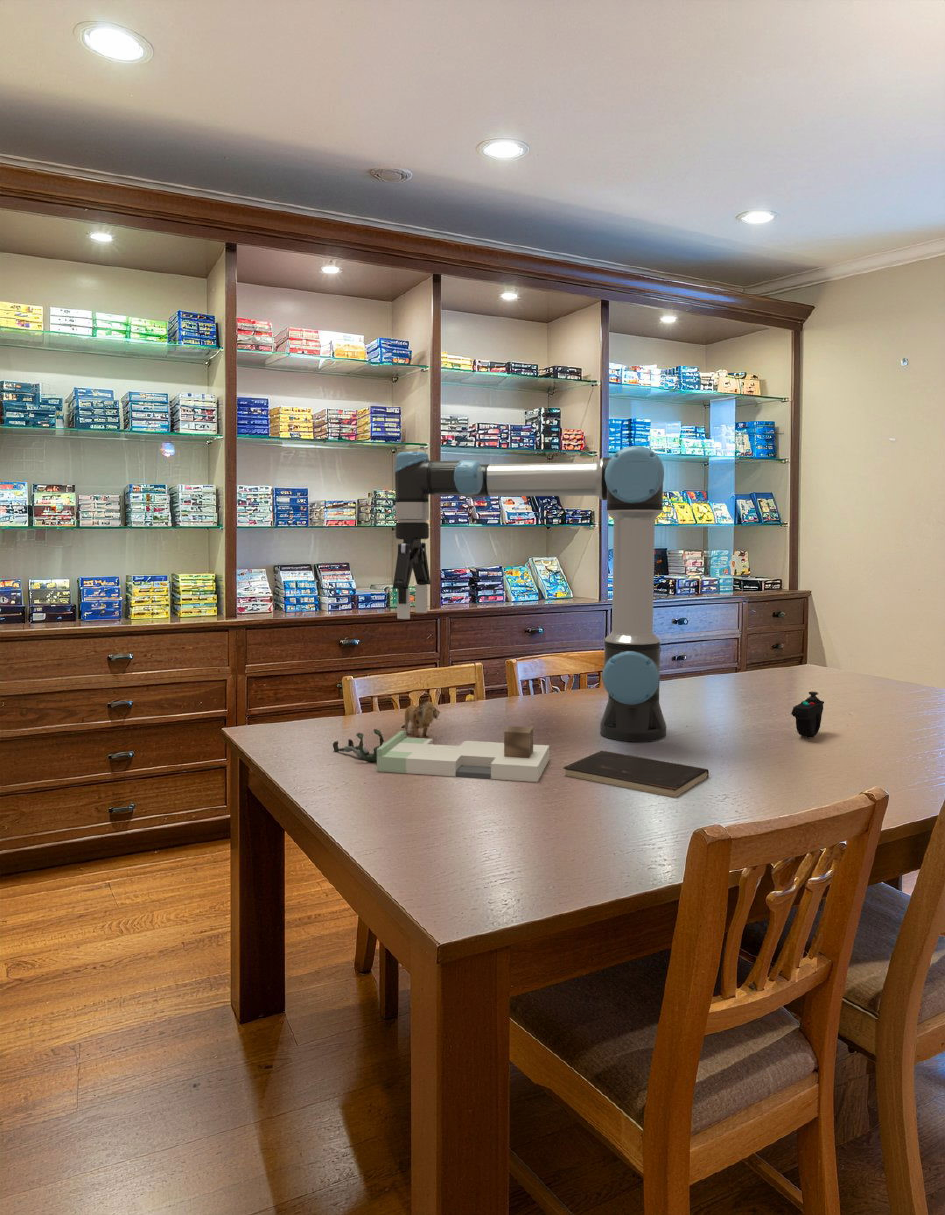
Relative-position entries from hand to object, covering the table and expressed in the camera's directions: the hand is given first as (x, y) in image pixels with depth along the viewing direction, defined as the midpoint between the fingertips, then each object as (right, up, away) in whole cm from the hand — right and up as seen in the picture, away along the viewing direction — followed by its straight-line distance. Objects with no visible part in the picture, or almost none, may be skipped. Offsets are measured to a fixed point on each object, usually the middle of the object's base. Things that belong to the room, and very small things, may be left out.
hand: (412, 615), depth 194 cm
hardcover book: (+45, -32, -29) cm, 62 cm away
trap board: (+12, -30, -21) cm, 39 cm away
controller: (+90, -28, +2) cm, 95 cm away
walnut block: (+23, -27, -24) cm, 43 cm away
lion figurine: (+1, -28, +3) cm, 28 cm away
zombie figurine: (-10, -30, -15) cm, 35 cm away
